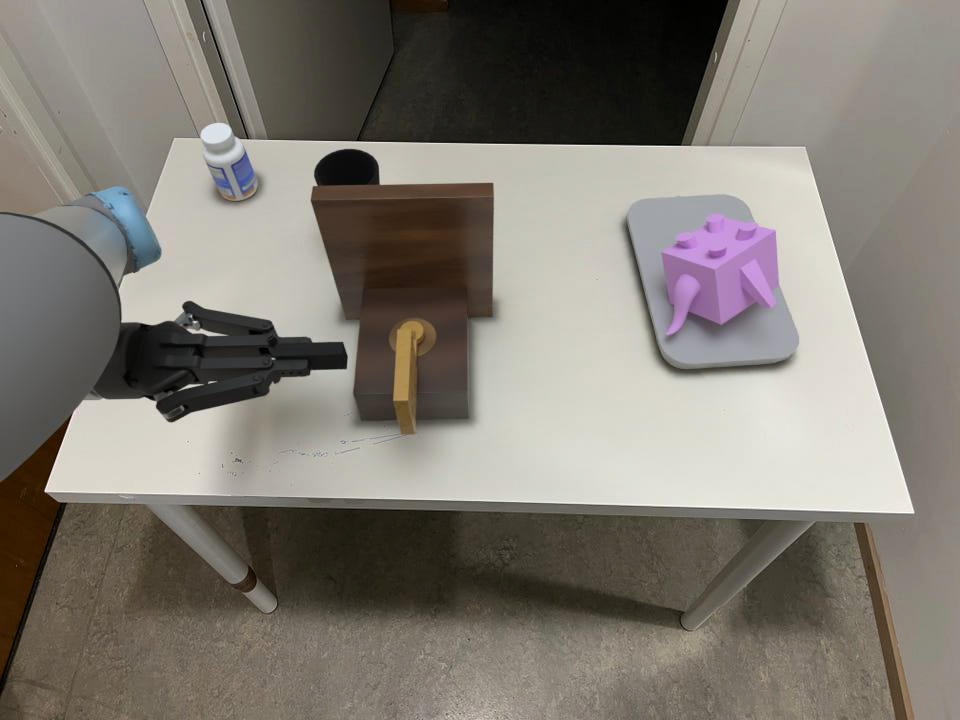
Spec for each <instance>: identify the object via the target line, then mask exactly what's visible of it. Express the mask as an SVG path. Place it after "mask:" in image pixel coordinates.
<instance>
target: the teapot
mask: <svg viewBox="0 0 960 720" xmlns="http://www.w3.org/2000/svg"><path fill="white" fill-rule="evenodd" d="M706 222H707V224H706V225H704V226H703V227H701V228H699V229H698V230H696V231H694V232H693V233H690V232H685V233H680V234H678V235H677V236H676V237H675V239H676V240H677V241H678V242H677V243H675V244H673V245H672V246H670V247H668V248H667V249H665V250H664V251H662V252H661V254H662V260H663V266H664V272H665V278H666V284H667V290H668V296H669V302H670V304H671V305H674V318H673V321H672V324H671V325H670V327H669V328H668V330H667V332H666V334H667V335H670V334H673V333H675V332H676V331H678V330H679V329H680V328H681V326H682V325H683V323H684V321H685V319H686V316H687V313H688V311H689V312H691V313H693V314H696V315H698V316H701V317H704V318H706V319H709V320H711V321H714V322H716V323H719V324H721V325H722V324H723V323H725V322H726V321H728V320H729V319H731V318H732V317H734V316H735V315H737V314H738V313H740V312H741V311H743V310H744V309H746V308H747V307H749V306H750V305H752V304H753V303H755V302H756V301H757V302H758V303H759V304H760V305H761V306H762V308H772V307H774V306H775V305H777V302H776V300H775V298H774V296H773V294H772V292H771V291H772V290H773V289H775V288H776V287H778V285H780V281H779V280H780V279H779V262H778V247H777V246H778V244H777V230H776V229H772V228H769V227H764V226H760V225H759V223H758V222H747V223H744V222H740V221H736V220H732V219H728V218H724V216H723V215H722V214H712V215H710V216H708V217H707V218H706Z"/></svg>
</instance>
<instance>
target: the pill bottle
mask: <svg viewBox="0 0 960 720" xmlns="http://www.w3.org/2000/svg"><path fill="white" fill-rule="evenodd" d="M200 139H201V142H202V145H203V148H202V157H203V159H204V161H205V164H206V166H207V169H208V171H209V173H210V175H211V177H212V180H213V182H214V183H215V186H216V188H217V190H218V192H219V194H220V195H221V197H223V198H224V199H226V200H228V201H230V202H231V201H232V202H238V201H243V200H247V199H249V198H250V197H252V196H253V195H254V194H255V193H256V192H257V190H258V187H259V181H258V179H257V176H256V173H255V170H254V168H253V165H252V163H251V161H250V158H249V155H248V152H247V149H246V147H245V145H244V143H243V141H242V140H241V139H240V138H239V137H237V136H235V134H234V132H233V130H232V127H231V126H230V125H228V124H227V123H223V122H215V123H211V124H208V125H206V126H205V127H204V128H203V129H202V130H201V132H200Z"/></svg>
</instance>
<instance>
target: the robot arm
mask: <svg viewBox="0 0 960 720" xmlns="http://www.w3.org/2000/svg"><path fill="white" fill-rule="evenodd" d="M162 253H163V251H162V247H161V244H160V242H159V240H158V237H157V235H156V233H155V231H154V229H153V228H152V225H151V223H150V221H149V220H148V218H147V216H146V214H145V212H144V211H143V209H142V207H141V205H140V203H139V201H138V200H137V199H136V197H135V196H134V194H133V193H132V191H131V190H129V188H127V187H124V186H118V185H117V186H116V185H115V186H113V187H109V188H107V189H103V190H99V191H97V192H96V191H92V192H90V193H87V194H85V195H84V196H82V197H79V198H77V199H74V200H71V201H68V202H65V203H63V204H60V205H57V206H55V207H51V208H49V209H46V210H44V211H41V212H38V213H35V214H33V215H30V214H25V213H20V212H13V211H0V483H1V482H3V481H4V480H6V479H7V478H8V477H9V476H10V475H11V474H13V473H14V471H16V470H17V469H18V468H19V467H20V466H21V465H22V464H24V462H26V461H27V460H28V459H29V458H30V457H31V456H32V455H33V454H34V453H35V452H37V450H38V449H39V448H40V447H41V446H42V445H43V444H44V443H45V442H47V440H49V439H50V438H51V436H52V435H54V433H55V432H56V431H58V430H59V429H60V427H62V426H63V424H64V423H65V422H66V421H67V420H68V419H69V417H71V415H72V414H73V413H74V412H75V411H76V410H77V409H78V407H79V406H80V405H81V403H82V402H83V401H100V400H102V399H104V400H140V399H143V398H146V399H149V401H152V402H155V403H156V404H155V409H156V410H157V411H158V413H160V415H161V416H162V417H163V418H164V419H165V421H166V422H168V423H175V422H177V421H179V420H180V419H182V418H184V417H186V416H188V415H190V414H192V413H195V412H200V411H204V410H209V409H213V408H218V407H223V406H226V405H231V404H235V403H240V402H244V401H249V400H253V399H258V398H263V397H266V396H268V395H269V393H270V391H271V389H270V387H271V385H272V384H273V385H277V384H279V383H280V382H281V380H282V378H305V377H308V376H310V375H311V371H329V370H330V371H332V370H336V371H337V370H347V369H348V359H349V356H348V353H347V352H348V351H347V349H346V346H345V343H344V341H316V342H315V341H314V342H313V340H312V338H311V337H308V336H279V334H278V332H277V330H276V328H275V326H274V324H273V322H272V321H271V320H270V319H264V318H260V317H254V316H249V315H244V314H238V313H232V312H227V311H222V310H221V311H220V310H215V309H209V308H204V307H203V306H201V305H199V304H198V303H196V302H195V301H192V300H186V301H185V302H183V304H181V305H182V306H181V308H182V310H183V312H182V313H180V315H179V316H178V317H176V318H175V319H174V320H164V321H161V322H160V323H155V324H148V323H143V322H139V321H127V322H122V320H123V312H122V311H123V309H122V301H121V300H122V299H121V294H120V290H119V289H118V288H119V287H118V286H119V284H120V281H121V279H122V277H125V276H127V275H129V274H135V273H138V272H140V270H141V269H144V268H145V267H147V266H150V265H152V264H154V263H157V262H158V261H159V260H160V259H161V257H162ZM189 330H193V331H196V333H193V332H191V331H189ZM201 330H203V331H206V332H209V333H211V334H212V333H213V334H218V335H207V334H205V333H203V332H202V333H201V332H199V331H201ZM197 332H198V333H197ZM191 385H194V386H191ZM187 386H191V387H187ZM186 387H187V388H186Z"/></svg>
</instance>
